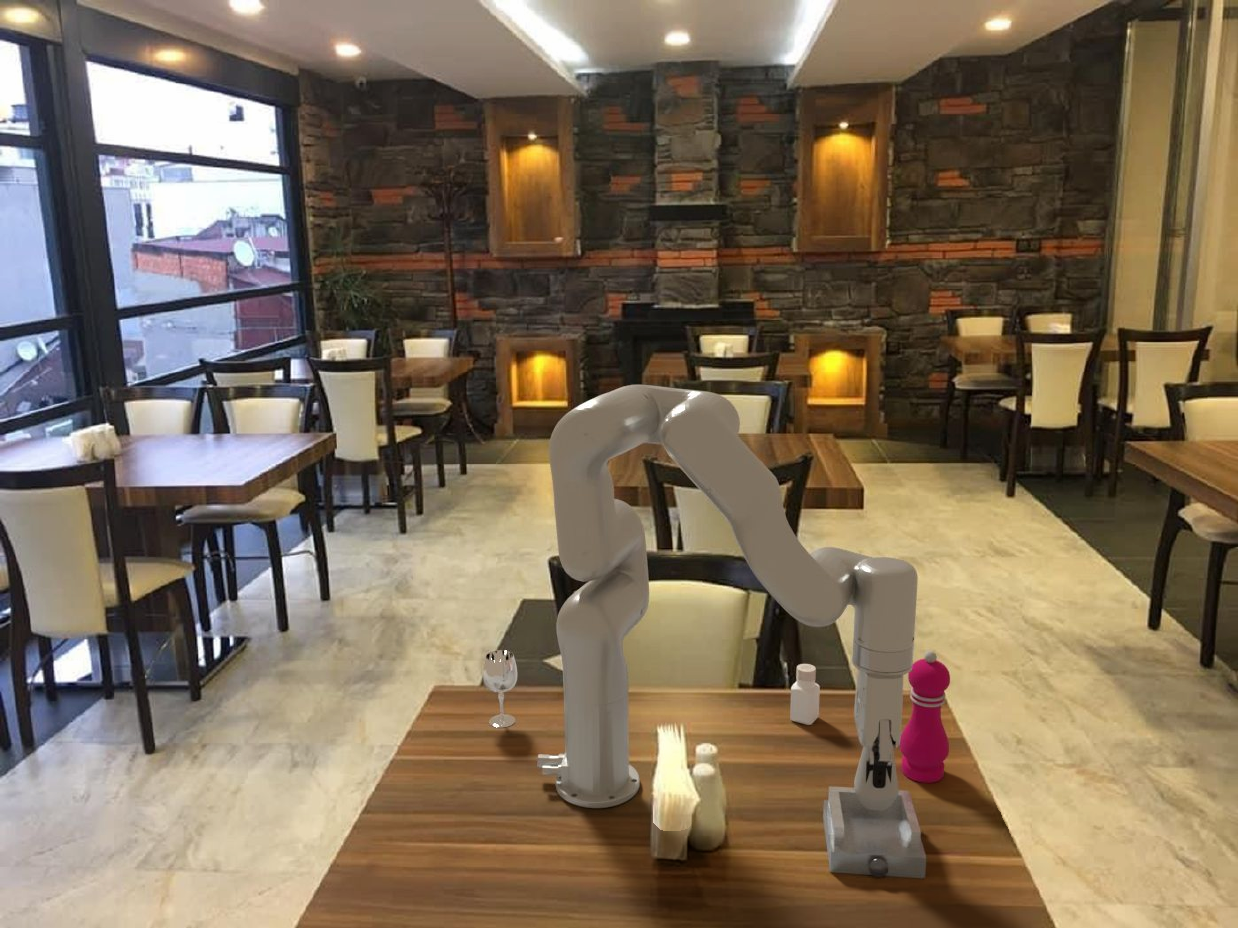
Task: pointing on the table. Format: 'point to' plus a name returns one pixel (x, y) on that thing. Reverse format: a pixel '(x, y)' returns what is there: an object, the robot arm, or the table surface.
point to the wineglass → (500, 681)
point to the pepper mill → (926, 722)
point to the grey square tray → (872, 836)
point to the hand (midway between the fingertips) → (876, 780)
